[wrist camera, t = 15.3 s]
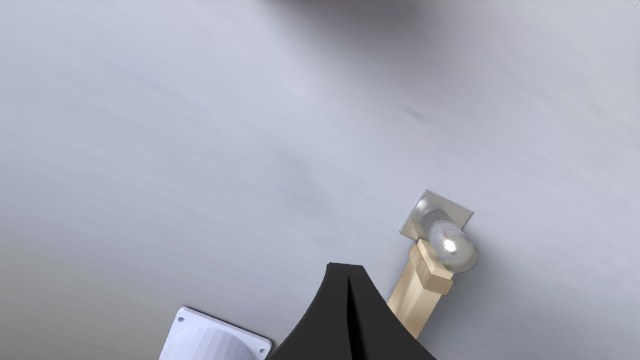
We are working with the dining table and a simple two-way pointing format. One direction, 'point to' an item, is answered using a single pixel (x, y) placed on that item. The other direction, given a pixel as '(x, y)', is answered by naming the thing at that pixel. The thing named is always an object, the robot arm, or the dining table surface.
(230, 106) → the dining table surface
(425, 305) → the wooden capped beam
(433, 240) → the chrome post on plate
